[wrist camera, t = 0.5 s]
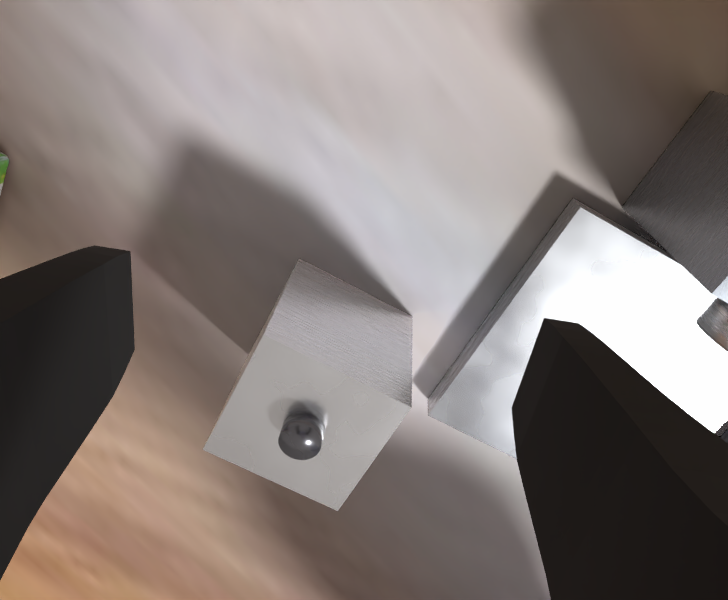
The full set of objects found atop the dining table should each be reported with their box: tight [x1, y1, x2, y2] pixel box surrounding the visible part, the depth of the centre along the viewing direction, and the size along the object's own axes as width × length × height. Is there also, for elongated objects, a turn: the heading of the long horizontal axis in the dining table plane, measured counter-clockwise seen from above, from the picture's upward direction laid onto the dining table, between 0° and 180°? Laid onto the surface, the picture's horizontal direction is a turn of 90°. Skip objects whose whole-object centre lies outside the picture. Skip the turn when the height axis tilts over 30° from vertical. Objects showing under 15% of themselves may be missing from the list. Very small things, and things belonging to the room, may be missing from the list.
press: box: [428, 91, 728, 459], centre depth 19 cm, size 17×15×6 cm
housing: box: [203, 258, 412, 511], centre depth 19 cm, size 4×4×6 cm
